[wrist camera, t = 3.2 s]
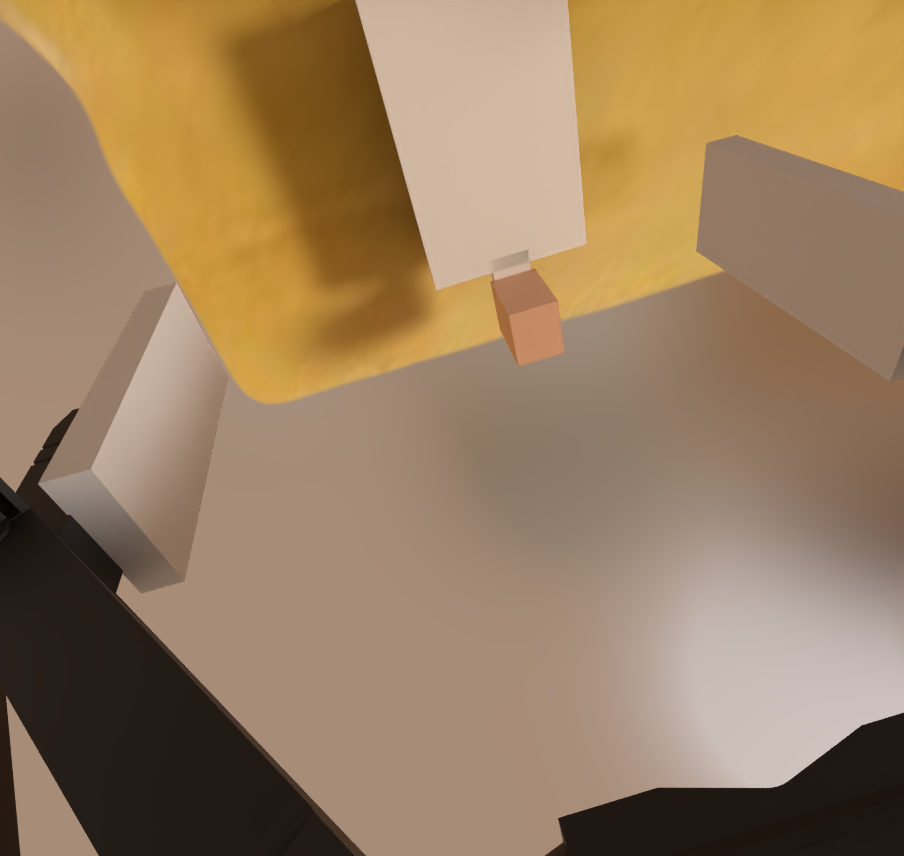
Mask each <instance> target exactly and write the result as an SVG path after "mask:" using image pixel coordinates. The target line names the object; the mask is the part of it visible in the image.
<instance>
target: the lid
mask: <svg viewBox="0 0 904 856" xmlns="http://www.w3.org/2000/svg"><path fill="white" fill-rule="evenodd" d="M355 2H356V5H357V9H358V13H359V16H360V20H361V23H362V27H363V31H364V34H365V38H366V41H367V45H368V49H369V52H370V56H371V59H372V63H373V67H374V70H375V74H376V77H377V81H378V85H379V88H380V92H381V95H382V99H383V102H384V106H385V110H386V113H387V117H388V120H389V124H390V128H391V131H392V135H393V138H394V142H395V146H396V149H397V153H398V156H399V160H400V164H401V167H402V171H403V174H404V178H405V182H406V185H407V189H408V192H409V196H410V200H411V203H412V207H413V210H414V214H415V217H416V221H417V225H418V228H419V232H420V235H421V239H422V243H423V246H424V250H425V253H426V257H427V261H428V264H429V268H430V271H431V275H432V279H433V282H434V286H435V288H436V290H438V289H442V288H445V287H448V286H451V285H455V284H458V283H461V282H464V281H468V280H471V279H474V278H478V277H481V276H484V275H487V274H492V279H493V281H492V282H491V287H492V292H493V297H494V301H495V306H496V311H497V316H498V321H499V326H500V330H501V332H502V334H503V336H504V338H505V340H506V342H507V344H508V346H509V348H510V350H511V352H512V354H513V356H514V358H515V360H516V362H517V364H518V366H522V365H525V364H528V363H531V362H535V361H538V360H541V359H544V358H548V357H551V356H554V355H558V354H561V353H564V350H563V349H564V348H563V340H562V332H561V323H560V315H559V307H558V300H557V299H556V298H555V296H554V295H553V293H552V292H551V291H550V289H549V288H548V286H547V285H546V284H545V282H544V281H543V279H542V278H541V277H540V275H539V274H538V272H537V271H536V270H535V268H534V269H531V270H530V263H529V262H530V261H533V260H536V259H540V258H543V257H546V256H550V255H553V254H556V253H559V252H563V251H566V250H569V249H572V248H576V247H579V246H582V245H586V233H585V220H584V207H583V194H582V181H581V168H580V155H579V142H578V129H577V116H576V103H575V90H574V78H573V65H572V52H571V39H570V26H569V13H568V0H355Z"/></svg>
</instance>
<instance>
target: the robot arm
mask: <svg viewBox="0 0 904 856" xmlns="http://www.w3.org/2000/svg"><path fill="white" fill-rule="evenodd" d="M696 251H697V252H698V253H700V254H701V255H703V256H704V257H706V258H707V259H709V260H710V261H712V262H713V263H715V264H716V265H718V266H719V267H721V268H722V269H724V270H725V271H727V272H728V273H730V274H731V275H733V276H734V277H736V278H737V279H739V280H740V281H742V282H743V283H744V284H746V285H747V286H749V287H750V288H752V289H753V290H755V291H757V292H758V293H759V294H761V295H762V296H764V297H765V298H767V299H768V300H770V301H771V302H773V303H774V304H776V305H777V306H779V307H780V308H782V309H783V310H785V311H786V312H788V313H789V314H791V315H792V316H793V317H795V318H796V319H798V320H799V321H801V322H802V323H804V324H805V325H807V326H808V327H810V328H811V329H813V330H814V331H816V332H817V333H819V334H820V335H822V336H823V337H825V338H826V339H828V340H829V341H831V342H832V343H834V344H835V345H837V346H838V347H840V348H841V349H843V350H844V351H846V352H847V353H848V354H850V355H851V356H853V357H855V358H856V359H857V360H859V361H860V362H862V363H863V364H865V365H866V366H868V367H869V368H871V369H872V370H874V371H875V372H877V373H878V374H880V375H881V376H883V377H884V378H886V379H887V380H889V381H894V380H897V379H901V378H904V192H903V191H900V190H897V189H894V188H891V187H888V186H885V185H882V184H879V183H876V182H873V181H870V180H867V179H864V178H861V177H858V176H856V175H853V174H850V173H847V172H844V171H841V170H838V169H835V168H832V167H829V166H826V165H823V164H820V163H817V162H814V161H811V160H808V159H805V158H802V157H799V156H796V155H793V154H790V153H787V152H785V151H782V150H779V149H776V148H773V147H770V146H767V145H764V144H761V143H758V142H755V141H752V140H749V139H746V138H743V137H740V136H737V135H735V136H731V137H727V138H724V139H720V140H716V141H712V142H709V143H706V153H705V164H704V175H703V185H702V196H701V207H700V218H699V229H698V239H697V250H696ZM227 380H228V378H227V376H226V374H225V372H224V370H223V368H222V366H221V365H220V363H219V361H218V359H217V357H216V355H215V353H214V352H213V350H212V348H211V346H210V345H209V342H208V341H207V339H206V337H205V335H204V333H203V331H202V329H201V328H200V326H199V324H198V322H197V320H196V318H195V317H194V315H193V313H192V311H191V309H190V307H189V305H188V304H187V302H186V300H185V298H184V296H183V294H182V293H181V291H180V289H179V287H178V285H177V283H174V284H171V285H167V286H163V287H159V288H156V289H152V290H148V291H145V292H144V293H143V295H142V297H141V298H140V300H139V302H138V304H137V306H136V307H135V309H134V311H133V313H132V315H131V316H130V318H129V320H128V322H127V324H126V326H125V327H124V329H123V331H122V333H121V335H120V336H119V338H118V340H117V342H116V344H115V345H114V347H113V349H112V351H111V353H110V354H109V356H108V358H107V360H106V362H105V363H104V365H103V367H102V369H101V371H100V372H99V374H98V376H97V378H96V380H95V381H94V383H93V385H92V387H91V389H90V390H89V392H88V394H87V396H86V398H85V400H84V401H83V403H82V405H81V407H80V408H79V409H75V410H72V411H71V412H70V413H69V414H68V415H67V416H66V417H65V418H64V419H63V420H62V421H61V422H60V423H59V424H58V425H57V426H55V427H54V428H53V430H52V431H51V433H50V435H49V437H48V438H47V440H46V442H45V443H44V445H43V450H41V451H40V452H39V454H38V455H37V457H36V459H35V460H34V464H35V465H33V466H31V467H30V469H29V471H28V472H27V474H26V476H25V478H24V479H23V481H22V482H21V484H20V486H19V488H18V489H17V491H16V493H15V492H14V491H13V490H12V489H11V488H10V487H9V486H8V485H7V484H6V483H5V482H4V481H3V480H2V479H1V478H0V856H20V847H19V836H18V824H17V813H16V802H15V791H14V781H13V770H12V759H11V747H10V736H9V726H8V714H7V703H6V696H7V697H8V699H9V700H10V703H11V704H12V706H13V708H14V709H15V711H16V713H17V715H18V716H19V718H20V720H21V722H22V723H23V725H24V727H25V728H26V730H27V732H28V734H29V736H30V737H31V739H32V740H33V742H34V744H35V746H36V748H37V749H38V751H39V753H40V755H41V756H42V758H43V760H44V762H45V763H46V765H47V766H48V768H49V770H50V772H51V774H52V775H53V777H54V779H55V781H56V782H57V784H58V786H59V788H60V789H61V791H62V793H63V794H64V796H65V798H66V800H67V801H68V803H69V805H70V807H71V808H72V810H73V812H74V814H75V815H76V817H77V819H78V820H79V822H80V824H81V826H82V827H83V829H84V831H85V833H86V834H87V836H88V838H89V839H90V841H91V843H92V845H93V846H94V848H95V850H96V851H97V853H98V855H99V856H366V855H365V854H364V853H363V852H362V851H361V850H360V849H359V848H358V847H357V846H356V845H355V844H354V843H353V842H352V841H351V840H350V839H349V838H348V837H347V836H346V834H344V832H343V831H342V830H341V829H340V828H339V827H338V826H337V825H336V824H335V823H334V822H333V821H332V820H331V819H330V818H329V817H328V816H327V814H325V812H324V811H323V810H322V809H321V808H320V807H319V806H318V805H317V804H316V803H315V802H314V801H313V800H312V799H311V798H310V797H309V796H308V795H307V793H306V792H304V790H303V789H302V788H301V787H300V786H299V785H298V784H297V783H296V782H295V781H294V780H293V779H292V778H291V777H290V776H289V775H288V774H287V772H286V771H285V770H284V769H283V768H282V767H281V766H280V765H279V764H278V763H277V762H276V761H275V760H274V759H273V758H272V757H271V756H270V755H269V754H268V753H267V752H266V751H265V749H264V748H263V747H262V746H261V745H260V744H259V743H258V742H257V741H256V740H255V739H254V738H253V737H252V736H251V735H250V734H249V733H248V732H247V731H246V729H245V728H244V727H243V726H242V725H241V724H240V723H239V722H238V721H237V720H236V719H235V718H234V717H233V716H232V715H231V714H230V713H229V712H228V711H227V709H226V708H225V707H224V706H223V705H222V704H221V703H220V702H219V701H218V700H217V699H216V698H215V697H214V696H213V695H212V694H211V693H210V692H209V691H208V690H207V689H206V687H205V686H204V685H203V684H202V683H201V682H200V681H199V680H198V679H197V678H196V677H195V676H194V675H193V674H192V673H191V672H190V671H189V670H188V668H186V667H185V665H184V664H183V663H182V662H181V661H180V660H179V659H178V658H177V657H176V656H175V655H174V654H173V653H172V652H171V651H170V650H169V649H168V647H167V646H166V645H165V644H164V643H163V642H162V641H161V640H160V639H159V638H158V637H157V636H156V635H155V634H154V633H153V632H152V631H151V630H150V629H149V628H148V626H147V625H146V624H145V623H144V622H143V621H142V620H141V619H140V618H139V617H138V616H137V615H136V614H135V613H134V612H133V611H132V610H131V609H130V608H129V607H128V606H127V604H126V603H125V602H124V601H123V600H122V599H121V598H120V597H119V596H118V595H117V594H116V591H117V588H118V585H119V582H120V579H121V576H122V574H123V575H124V576H125V577H126V578H127V579H128V580H129V581H130V582H131V583H132V584H133V585H134V586H135V587H136V588H137V589H138V590H139V592H140V593H145V592H148V591H152V590H155V589H158V588H162V587H166V586H169V585H173V584H176V583H180V582H183V581H185V576H186V571H187V567H188V562H189V558H190V553H191V548H192V543H193V539H194V534H195V530H196V525H197V520H198V515H199V511H200V506H201V501H202V496H203V492H204V487H205V483H206V478H207V473H208V469H209V464H210V459H211V454H212V450H213V445H214V440H215V436H216V431H217V426H218V422H219V417H220V412H221V408H222V403H223V398H224V393H225V389H226V384H227ZM558 820H559V824H560V829H561V834H562V838H563V843H562V844H560V845H559V846H558V847H556V848H555V849H553V850H552V851H551V852H549V853H548V854H547V855H545V856H904V713H901V714H898V715H895V716H891V717H888V718H885V719H882V720H878V721H875V722H872V723H868V724H865V725H862V726H860V727H859V728H858V729H856V730H855V731H854V732H853V733H851V734H850V735H849V736H847V737H846V738H845V739H843V740H842V741H841V742H839V743H838V744H837V745H835V746H834V747H833V748H831V749H830V750H829V751H827V752H826V753H825V754H824V755H822V756H821V757H820V758H818V759H817V760H816V761H814V762H813V763H812V764H810V765H809V766H808V767H806V768H805V769H804V770H803V771H801V772H800V773H799V774H797V775H796V776H795V777H793V778H792V779H791V780H789V781H788V782H786V783H785V784H783V785H780V786H778V787H773V788H655V789H652V790H649V791H645V792H642V793H639V794H636V795H632V796H629V797H626V798H623V799H619V800H616V801H613V802H609V803H607V804H603V805H600V806H596V807H593V808H590V809H586V810H583V811H580V812H577V813H573V814H570V815H567V816H564V817H561V818H558Z"/></svg>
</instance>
